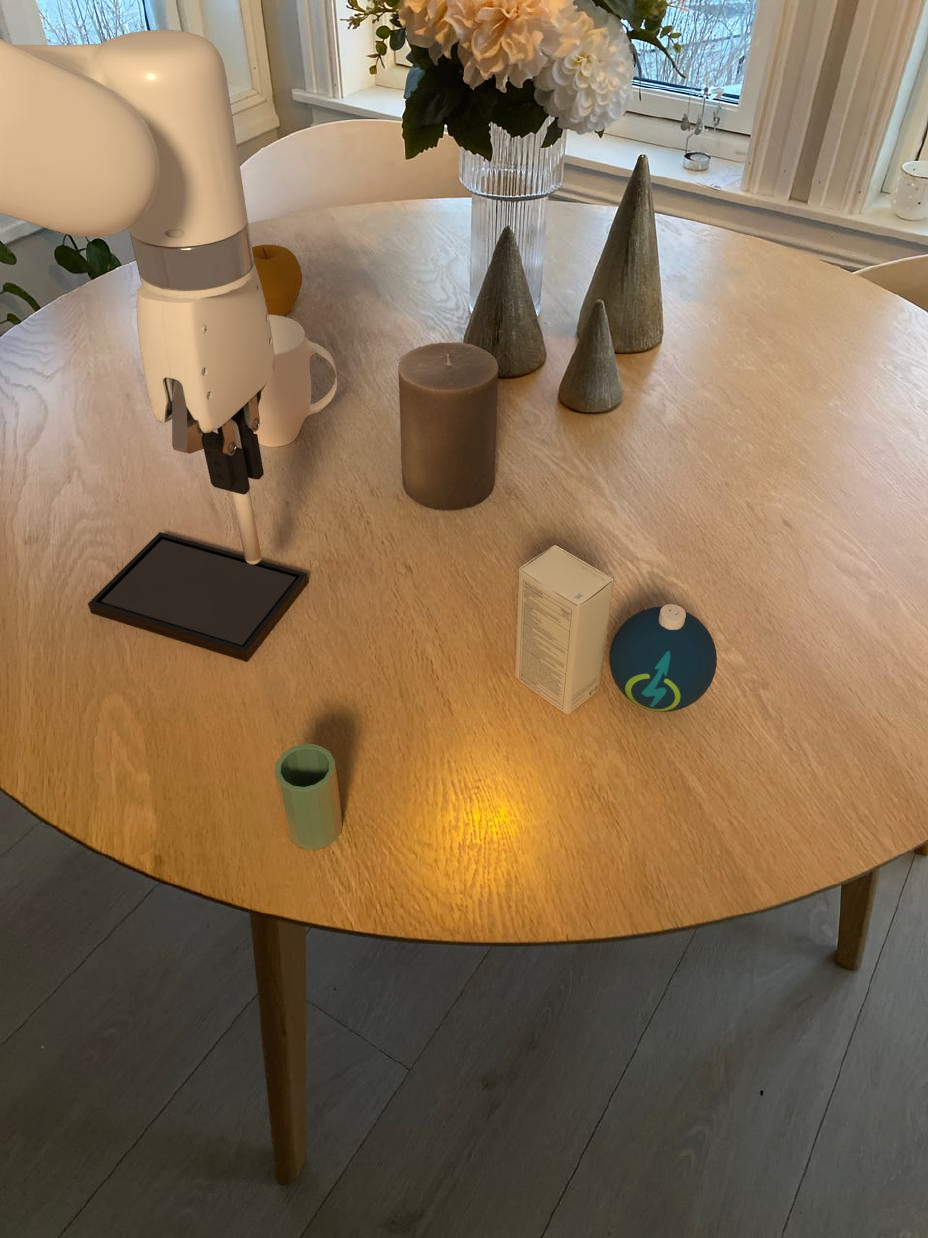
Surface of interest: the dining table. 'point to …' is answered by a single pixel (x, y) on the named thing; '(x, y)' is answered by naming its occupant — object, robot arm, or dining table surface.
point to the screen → (200, 592)
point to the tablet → (190, 636)
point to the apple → (278, 277)
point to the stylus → (246, 518)
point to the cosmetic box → (562, 627)
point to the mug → (289, 384)
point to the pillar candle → (448, 424)
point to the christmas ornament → (663, 658)
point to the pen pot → (309, 796)
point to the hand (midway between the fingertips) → (238, 480)
